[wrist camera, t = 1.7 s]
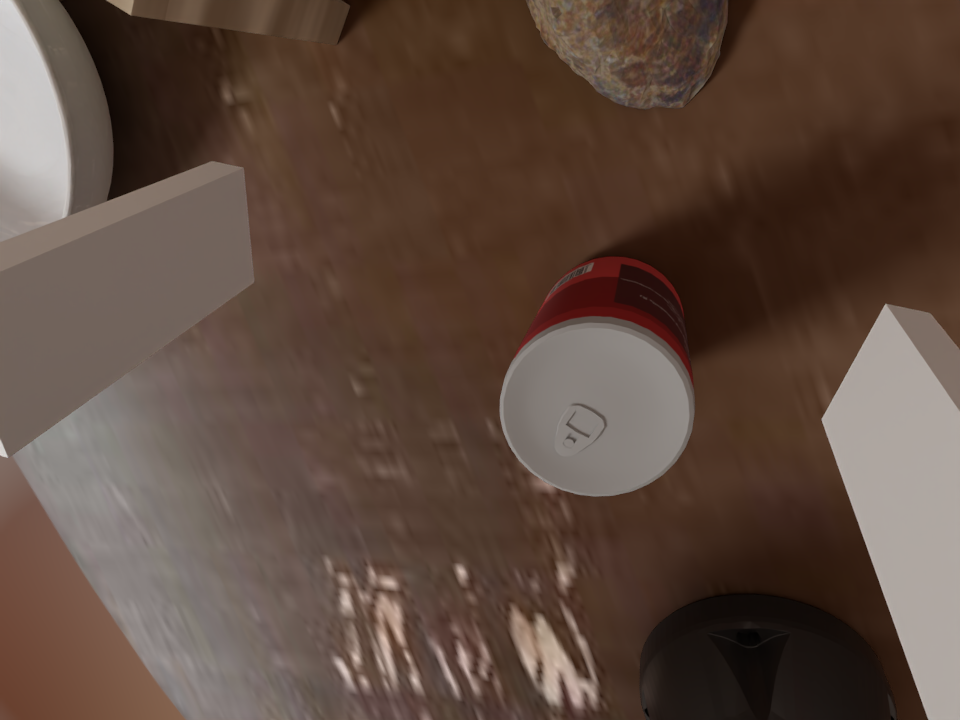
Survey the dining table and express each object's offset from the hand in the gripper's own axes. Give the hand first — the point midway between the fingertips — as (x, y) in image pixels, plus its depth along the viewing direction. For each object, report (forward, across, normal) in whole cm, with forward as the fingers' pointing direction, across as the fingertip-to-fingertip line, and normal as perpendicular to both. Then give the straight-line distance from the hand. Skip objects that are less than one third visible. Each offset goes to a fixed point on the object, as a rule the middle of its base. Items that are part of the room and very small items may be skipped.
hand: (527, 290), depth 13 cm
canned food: (+19, -3, +10) cm, 22 cm away
